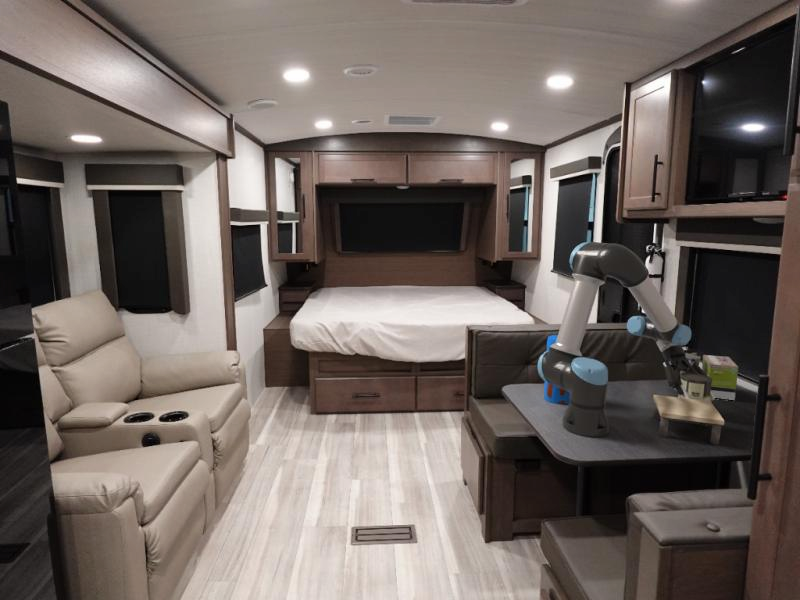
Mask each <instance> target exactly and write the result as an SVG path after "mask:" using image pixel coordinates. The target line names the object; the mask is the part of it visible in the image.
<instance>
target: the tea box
mask: <svg viewBox="0 0 800 600" xmlns="http://www.w3.org/2000/svg"><path fill="white" fill-rule="evenodd" d="M701 369H702V370H703V371H704V372H705V374H706V375H707V376H709V377H711V378H712V383H711V392H712V394H713V395H714V397H715V398H721V399H729V400H734V401H736V400H735V399H736V391H737V383H738V382H737V381H738V374H739V366H738V365H737V364H736V362H735V361H733V360H732V359H731V357H730V356H722V355H721V356H719V355H710V354H709V355H707V354H703V355H702V365H701Z"/></svg>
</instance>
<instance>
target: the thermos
mask: <svg viewBox="0 0 800 600" xmlns="http://www.w3.org/2000/svg"><path fill="white" fill-rule="evenodd" d="M557 337H558V334H553V335H549V336H547V340H546V351H549V348H550V346H551V345H553V344H554V343H556V340H557ZM543 385H544V387H543V399H544V400H545V401H546V402H549V403H552V404H555V403H556V405H567V403H568V404H569V397H570V392H568V391H565V390H563V389H561V388H559V387H557V386H554V385H551V384H549V383H548V382H546V381H544V384H543Z"/></svg>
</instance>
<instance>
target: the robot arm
mask: <svg viewBox="0 0 800 600" xmlns="http://www.w3.org/2000/svg"><path fill="white" fill-rule="evenodd" d="M569 257H570V258H569V264H570V265H569V267H570V269H571V270H572V273H571V276H572V278H573V279H574V282H573V283H572V284H573V285H572V288H571V291H570V295H569V297H568V302H567V304H566V308H565V311H564V314H563V318H562V320H561V324H560V326H559V330H558V334H557V335H558V337H557V340H556V343H554V344H553V345H551V346H550V348H549V351H547V350H546V351H544V352H543V353H542V354H541V355H540V356H539V358H538V361H537V371H538V375H539V377H540V378H541V379H542V381H544V382H545V381H546V382H548V383H549V384H551V385H554V386H557V387H559V388H561V389H563V390H565V391H568V392H570V397H569V403H568V405H567V407H566V409H565V412H564V415H563V416H562V421H561V422H562V423H561V425H562V427H563V428H564V429H565V430H566V431H568V432H570V433H573V434H575V435H577V436H578V435H579V436H584V437H603V436H605V435H608V433H610V432H609V431H610V423H609V419H608V416H607V411H606V403H607V394H608V393H607V392H608V382H609V369H608V367H607V366H606V365H605V364H604V363H603V362H602V361H599V360H597V359H595V358H589V357H585V356H583V355H582V353H581V350H580V349H581V346H582V343H583V339H584V337H585V332H586V329H587V328H588V327H587V326H588V324H589V320H590V316H591V313H592V310H593V307H594V304H595V300H596V297H597V294H598V290H599V287H600V286H602V285H604V284H605V283H606V280H607V278H612V279H615V280H617V281H619V283H620V284H621V285H622V287H624V288H627V289H628V290H629V292H630V294H632V296H633V297H634V299H635V301H636V302H637V303H638V305H639V306H640V308H641V309H642V311H643V312H644V313H645V315H646V316H642V315H634V316H631V317H630V318H629V319H628V320H627V323H626V329H627V331H628V332H629V333H630V335H634V336H637V337H639V336H640V337H644V338H649V339H652V340H654V342H655V344H656V345H657V347H658V348H659V351H660V352H661V354H662V356H663V358H664V360H665V361H664V362H663V363H662V364H661V365H662V367H663V368H664V372H665V376H666V380H667V384H668V386H669V388H672V389H673V390H674V389H675V388H676V390H677V391H676V392H677V395H678V396H679V395H681V397H682V398H687V399H690V397H689V395H688V393H687V391H686V389H685V388H684V386H683V385H681V382H680V371H684V372H686V373H698V374H703V375H706V374H705V372H704V371H703V370H702V367H701V366H700V364H699V365H698V364H697V363H696V361H695V359H691V360H688V359H687V358H686V357H685V353H686V350H685V349H684V348H683V346H685V345H687V344H688V343H689V341H691V339H692V329H691V328H690V327H689V326H688V325H685V324H681V323H679V320H677V318H676V316H675V315H674V314H673V312H672V310H671V309H670V307H669V306H668V305H667V303H666V301H665V300H664V298H663V297H662V295H661V293H660V292H659V290H658V289H657V287H656V286H655V284H654V283H653V281H652V280H651V278H650V277H649V274H650V271H649V269H648V268H647V266H646V264H645V263H644V262H643V261H642V259H641V258H640V257H639V256H638V255H637V254H636V253H634V251H632V250H631V249H629V247H626V246H624V245H622V244H620V243H619V244H618V243H609V242H608V243H606V242H599V241H597V242H596V241H589V242H587V241H586V242H581V243H580V244H578V245H577V246H575V248H574V249H573V250H572V252H571V254H570V256H569ZM688 367H689V369H688ZM706 376H707V375H706ZM680 385H681V386H680ZM714 400H716V399H715V397H714V395H713V394H712V392H710V400H709V401H711V402H712V401H714Z"/></svg>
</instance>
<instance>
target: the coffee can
mask: <svg viewBox="0 0 800 600" xmlns="http://www.w3.org/2000/svg"><path fill="white" fill-rule="evenodd" d="M680 382H681V385H683V386H684V388H685V389H686V391H687V393H688V395H689V397H690V399H695V400H704V401H709V400H710V392H711V383H712V378H711V377H709V376H706V375H703V374H698V373H682V374H680ZM681 385H680V386H681ZM677 397H678V398H682V397H681V395H679V394H678V396H677Z"/></svg>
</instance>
